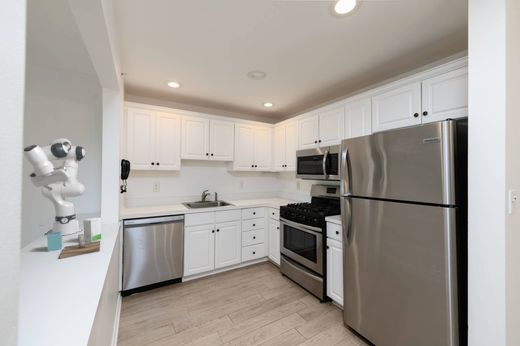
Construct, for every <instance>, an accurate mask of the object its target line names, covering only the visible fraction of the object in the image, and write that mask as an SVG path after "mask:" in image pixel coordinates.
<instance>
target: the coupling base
mask: <svg viewBox="0 0 520 346" xmlns="http://www.w3.org/2000/svg"><path fill="white" fill-rule="evenodd" d="M77 236H78V237H77V238H78V239H77V241H78V242H77V243H78V244H74V245H73V244H72V245H67V246H63V247H64V248H63V250H62V251H61V253H60V256H59V259H60V260H61V259H66V258H71V257H77V256H81V255H88V254H91V253H98V252H100V251H101V240H99V241H95V242H90V243H85V237H84V233H81V234H78V235H77Z"/></svg>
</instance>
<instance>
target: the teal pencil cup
mask: <svg viewBox="0 0 520 346" xmlns="http://www.w3.org/2000/svg"><path fill="white" fill-rule="evenodd" d="M46 240H47V241H46V242H47V252H54V251H59V250H62V248H63V247H64V246H63V235H62V231H60V232H53V231H52V232H49V233H48V234H47V235H46Z"/></svg>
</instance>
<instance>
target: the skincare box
mask: <svg viewBox="0 0 520 346" xmlns="http://www.w3.org/2000/svg"><path fill="white" fill-rule="evenodd" d="M102 232H103V230H102V218H101V217H91V218H87V219H83V234H84V237H85V243H90V242H95V241H101V240H102V239H103V233H102Z"/></svg>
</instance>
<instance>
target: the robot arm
mask: <svg viewBox="0 0 520 346" xmlns="http://www.w3.org/2000/svg"><path fill="white" fill-rule="evenodd" d="M23 150H24V152H23V154H24V156H25V158H26V160H27V161H28V162H29V164H30V165H32V167H33V169H34V171H32V172H31V173H29V174H28V175H27V176H28V177H29V178H30V181H31V182H32V184H33V186H34V187H36V188H41V187H42V188H41V195H42V196H43V197H44V198H46V199H48V200H49V201H50V202H51V203H52V204H53V206H54V209H55V211H54V212H55V216H54V220H55V221H54V223H53V224H52V233H53V232H60V231H62V236H67V235H68V236H69V235H72V234H76V233H78V232H82V231H83V230H82V228H81V227H80V224H79V221H78V220H77V219H76V218H77V217H76V212H75V204H74V203H73V202H71V201H68V200H67V199H65V198H75V197H79V196H82V195H84V194H85V191H86V186H85V185H84V184H83V183H81V182H80V181H79V180H78V173H79V162H81V161H82V160H83V159H84V158H85V155H86V150H85V149H84V147H83V146H79V145H78V146H77V145H76V146H74V145H73V143H72V142H71V141H70V140H69V139H67V138H65V137H63V138H62V137H60V138H55V139H54V140H52V141H50V142H49V143H48V145H46V146H42V147H41V146H39V145H37V144H33V145H28V146H27V147H24V149H23ZM54 160H63V163H62V164H61V166H56V167H55V166H54V165H53V163H52V162H51V161H54ZM59 182H63V183H59ZM81 230H82V231H81Z"/></svg>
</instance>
